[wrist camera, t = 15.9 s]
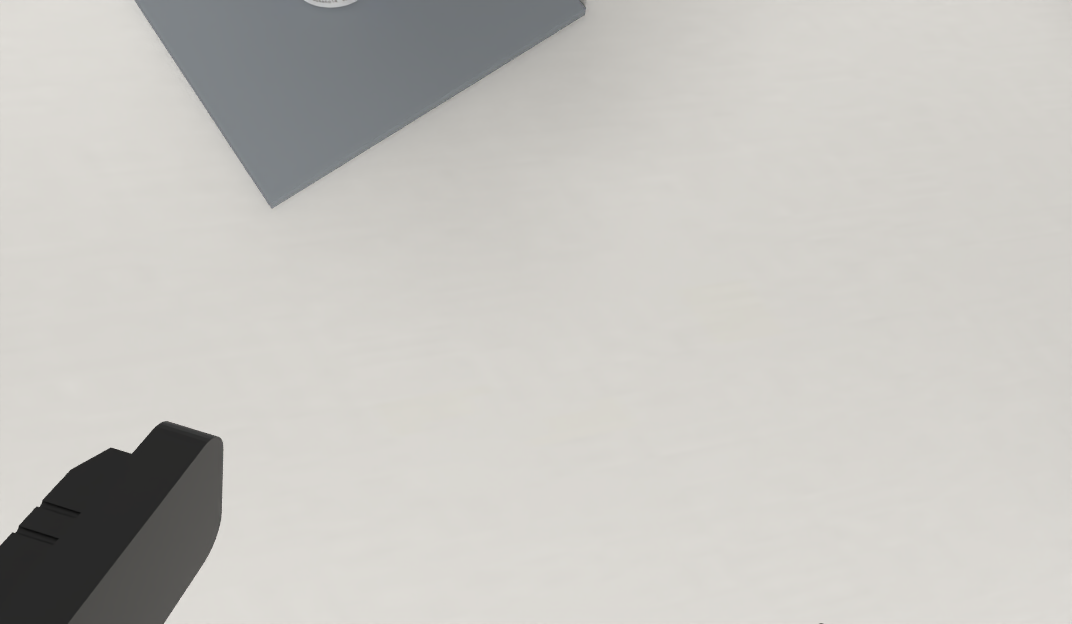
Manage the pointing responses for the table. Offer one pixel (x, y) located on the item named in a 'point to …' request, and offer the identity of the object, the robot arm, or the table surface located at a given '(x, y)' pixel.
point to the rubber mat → (337, 70)
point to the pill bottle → (330, 3)
